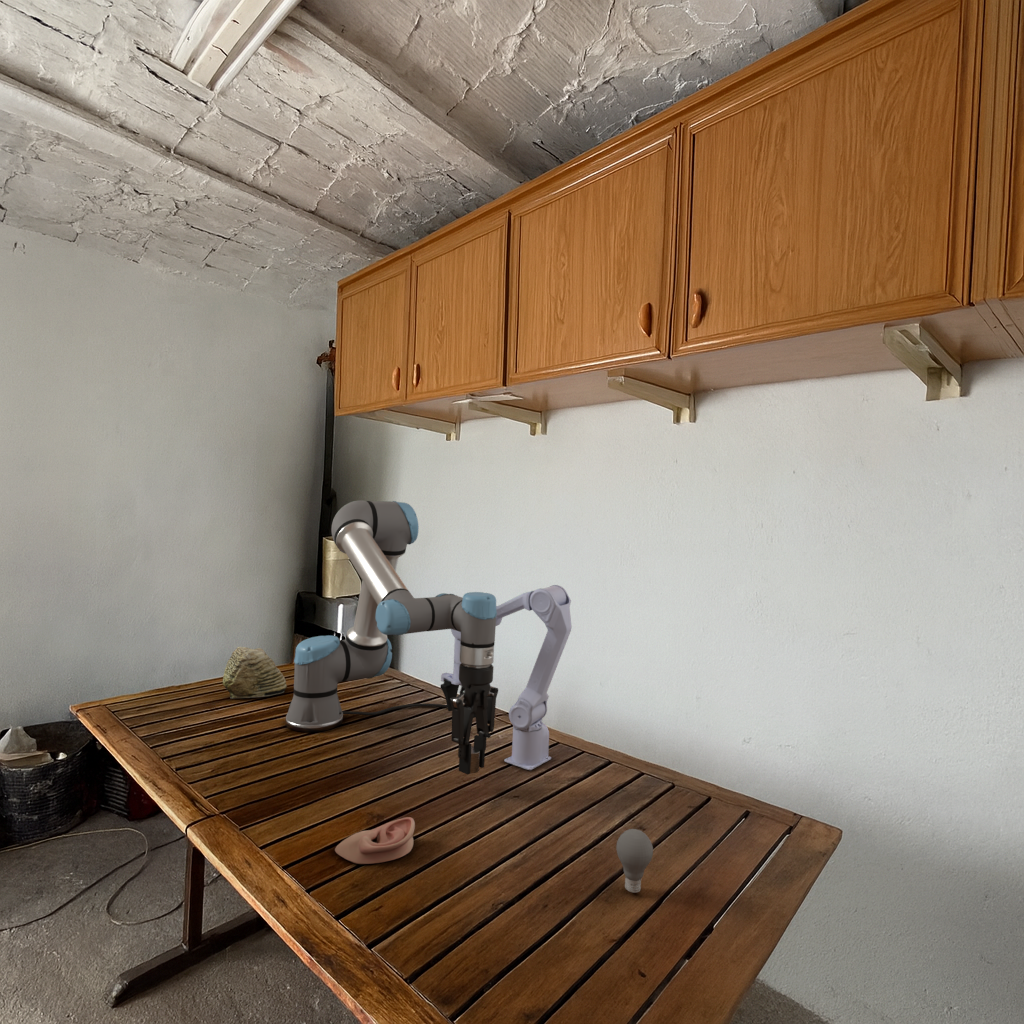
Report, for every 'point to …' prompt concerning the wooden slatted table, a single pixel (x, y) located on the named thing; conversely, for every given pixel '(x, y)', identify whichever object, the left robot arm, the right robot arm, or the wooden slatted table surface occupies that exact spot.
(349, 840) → the anatomical model
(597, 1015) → the wooden slatted table surface
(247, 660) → the fossil
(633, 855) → the light bulb
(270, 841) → the wooden slatted table surface
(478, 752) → the tin
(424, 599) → the left robot arm
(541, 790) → the wooden slatted table surface
